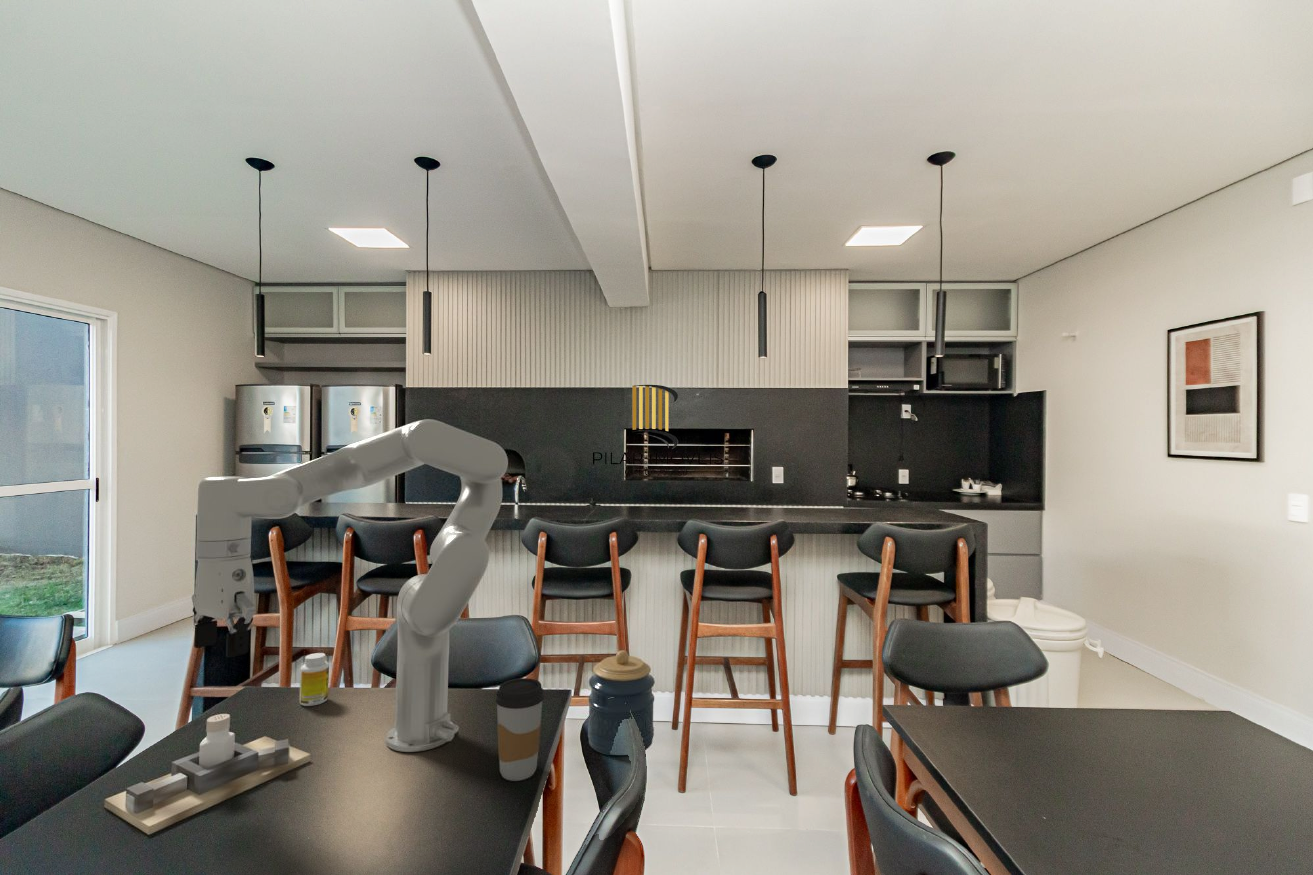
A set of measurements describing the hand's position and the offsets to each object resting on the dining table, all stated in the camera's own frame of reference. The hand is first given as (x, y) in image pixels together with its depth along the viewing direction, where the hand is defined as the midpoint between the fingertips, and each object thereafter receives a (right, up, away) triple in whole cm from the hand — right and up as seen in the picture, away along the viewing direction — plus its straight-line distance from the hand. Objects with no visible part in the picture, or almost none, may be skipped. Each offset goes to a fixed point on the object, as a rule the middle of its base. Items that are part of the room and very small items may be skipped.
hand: (220, 650), depth 101 cm
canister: (+67, -24, +16) cm, 73 cm away
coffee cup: (+50, -23, +4) cm, 55 cm away
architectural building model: (0, -22, -1) cm, 22 cm away
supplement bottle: (-3, -23, +32) cm, 40 cm away
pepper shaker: (0, -21, -1) cm, 21 cm away
